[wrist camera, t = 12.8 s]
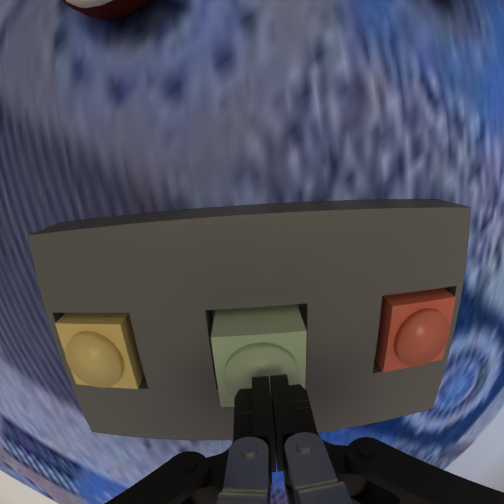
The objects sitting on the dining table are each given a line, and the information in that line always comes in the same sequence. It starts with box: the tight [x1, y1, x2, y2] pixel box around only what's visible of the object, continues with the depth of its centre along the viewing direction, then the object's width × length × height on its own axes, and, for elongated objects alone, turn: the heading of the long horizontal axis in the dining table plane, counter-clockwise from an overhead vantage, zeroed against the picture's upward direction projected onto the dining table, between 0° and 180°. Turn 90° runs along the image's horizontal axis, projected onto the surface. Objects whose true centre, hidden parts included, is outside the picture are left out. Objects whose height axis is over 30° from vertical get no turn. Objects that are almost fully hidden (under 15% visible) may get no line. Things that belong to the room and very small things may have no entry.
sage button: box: [211, 304, 307, 407], centre depth 16 cm, size 4×4×4 cm
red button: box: [375, 288, 456, 372], centre depth 17 cm, size 4×4×4 cm
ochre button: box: [55, 313, 144, 389], centre depth 17 cm, size 4×4×4 cm
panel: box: [28, 199, 471, 440], centre depth 18 cm, size 24×14×4 cm, turn 93°
